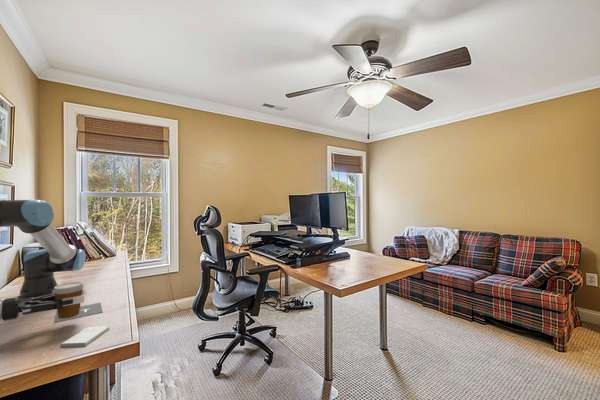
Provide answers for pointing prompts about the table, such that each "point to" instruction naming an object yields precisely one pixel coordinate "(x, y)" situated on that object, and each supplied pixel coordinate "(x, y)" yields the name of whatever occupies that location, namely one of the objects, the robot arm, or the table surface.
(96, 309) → the tile
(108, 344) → the table surface
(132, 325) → the table surface
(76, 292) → the disposable coffee cup
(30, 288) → the robot arm
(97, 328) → the external hard drive
